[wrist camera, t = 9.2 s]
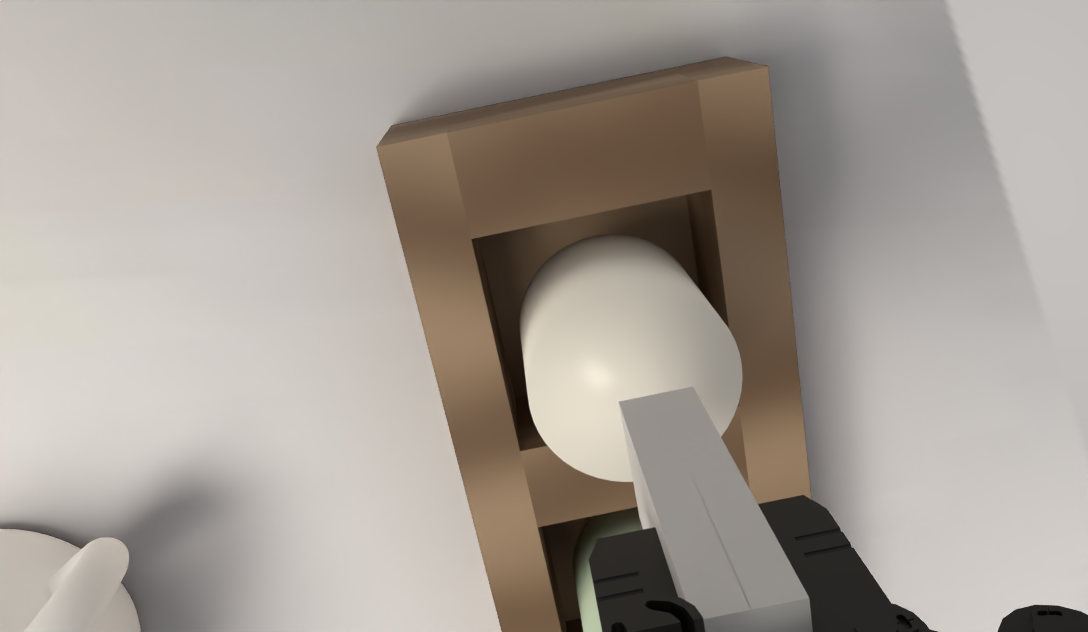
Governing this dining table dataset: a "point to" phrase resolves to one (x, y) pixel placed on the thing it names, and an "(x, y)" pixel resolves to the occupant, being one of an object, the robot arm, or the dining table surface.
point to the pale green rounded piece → (585, 543)
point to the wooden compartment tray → (557, 221)
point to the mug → (63, 585)
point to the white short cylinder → (618, 347)
